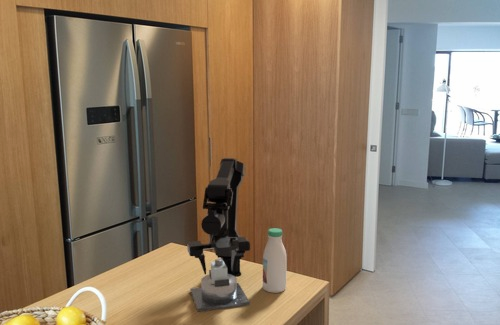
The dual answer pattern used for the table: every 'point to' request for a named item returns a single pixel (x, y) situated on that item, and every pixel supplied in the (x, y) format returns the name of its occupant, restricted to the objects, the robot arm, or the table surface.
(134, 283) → the table surface
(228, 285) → the grey stacked fixture
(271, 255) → the milk bottle
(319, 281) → the table surface
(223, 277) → the pump
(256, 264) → the table surface
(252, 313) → the table surface
